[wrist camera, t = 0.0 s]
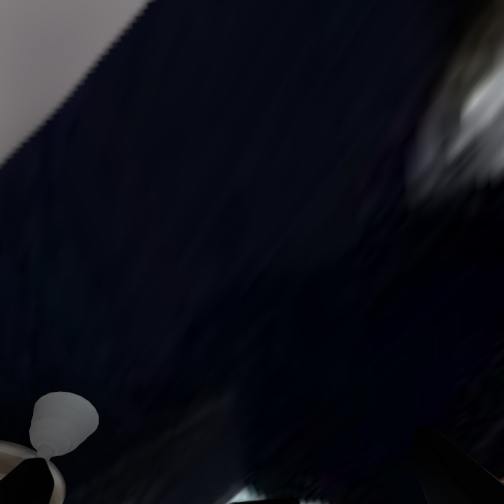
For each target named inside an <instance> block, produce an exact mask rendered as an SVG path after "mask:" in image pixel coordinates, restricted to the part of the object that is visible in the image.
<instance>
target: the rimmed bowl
mask: <svg viewBox="0 0 504 504" xmlns="http://www.w3.org/2000/svg"><path fill="white" fill-rule="evenodd" d="M36 453H37V452H36V451H34V450H32V449H30V448H28V447H25V446H23V445H20V444H17V443H13V442H8V441H2V440H0V480H1V479H2V478H4V477H5V476H6V475H7V474H8V473H9V472H10V471H12V470H13V469H14V468H15V467H16V466H17V465H19V464H20V463H21V462H22V461H24V460H25V459H28V458H35V456H36ZM47 464H48V466H49V469H50V471H51V473H52V475H53V478H54V490H53V493H52V496H51V499H50V503H49V504H62V503H63V501H64V499H65V496H66V484H65V481H64V478H63V476H62V474H61V472H60V471H59V470H58V468H57V467H56V466H55V465H54V464H53V463H52V462H51V461H50V460H48V462H47Z"/></svg>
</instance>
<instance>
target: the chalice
mask: <svg viewBox="0 0 504 504" xmlns="http://www.w3.org/2000/svg"><path fill="white" fill-rule="evenodd" d="M33 412H34V415H33V417H32V420H31V427H30V430H29V433H30V440H31V443H32V445H33V447H34V448H35V449H36V450H37V453H36V456H35V458H39V457H42V458H44V459H45V460H46V462H48V460H49V459H50V458H51V457H53V456H60V455H63V454H66V453H68V452H70V451H73V450H74V449H75V448H76V447H78V445H79V444H80V443H82V442H83V441H84V440H85V439H86V438H87V437H88V436H89V435H91V434H92V433H93V432H94V431H95V430H96V428H97V426H98V424H99V416H98V414H97V411H96V409H95V408H94V407H93V405H92V404H91V403H90V402H89V401H87V400H86V399H84V398H82V397H81V396H78V395H75V394H72V393H67V392H54V393H49V394H47V395H45V396H43V397H41V398H40V399H39V400H38V401H37V402H36V404H35V407H34V409H33Z"/></svg>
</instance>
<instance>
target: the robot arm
mask: <svg viewBox="0 0 504 504" xmlns="http://www.w3.org/2000/svg"><path fill="white" fill-rule="evenodd" d="M411 454H412V459H413V463H414V466H415V468H416V471H417V474H418V477H419V479H420V482H421V485H422V488H423V490H424V493H425V496H426V499H427V501H428V504H504V484H503V483H502V482H500V481H499V480H498V479H497V478H495V477H494V476H493V475H492V474H491V473H489V472H488V471H487V470H486V469H484V468H483V467H482V466H481V465H480V464H478V463H477V462H476V461H475V460H473V459H472V458H471V457H470V456H469V455H467V454H466V453H465V452H464V451H462V450H461V449H460V448H459V447H458V446H456V445H455V444H454V443H453V442H451V441H450V440H449V439H448V438H447V437H445V436H444V435H443V434H442V433H440V432H439V431H438V430H437V429H435V428H434V427H430V426H428V427H417V428H416V429H415V430H414V435H413V442H412V449H411ZM53 490H54V478H53V475H52V473H51V471H50V469H49V466H48V464H47V462H46V460H45V459H44V458H42V457H39V458H28V459H25V460H24V461H22V462H21V463H20V464H19V465H17V466H16V467H15V468H14V469H13V470H12V471H10V472H9V473H8V474H7V475H6V476H5V477H4V478H2V479H1V480H0V504H49V503H50V499H51V496H52V493H53ZM236 504H300V502H299V500H297V499H287V500H275V501H262V502H249V503H236Z"/></svg>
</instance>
